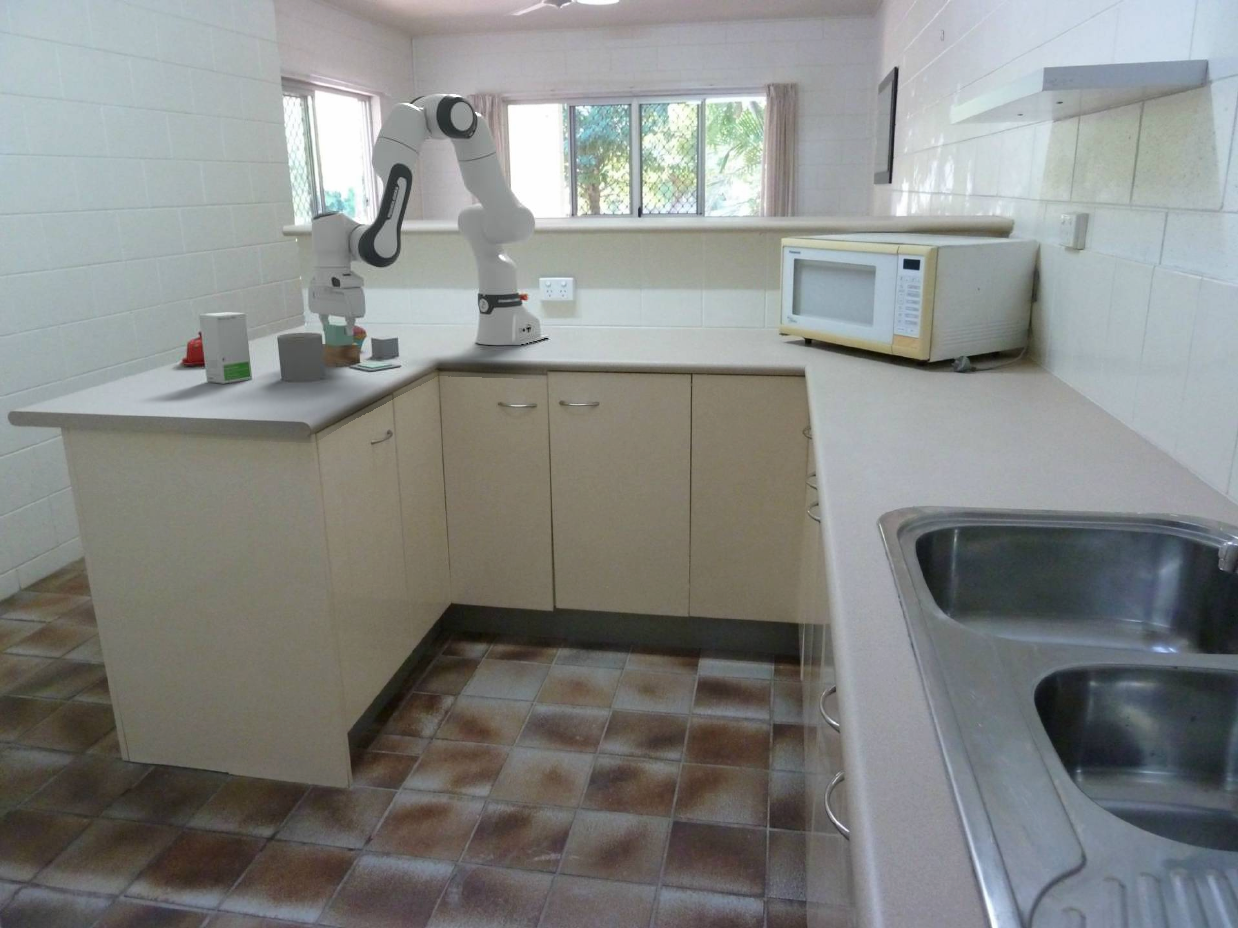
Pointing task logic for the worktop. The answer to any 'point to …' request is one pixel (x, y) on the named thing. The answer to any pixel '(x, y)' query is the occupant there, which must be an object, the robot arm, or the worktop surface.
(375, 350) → the grey block
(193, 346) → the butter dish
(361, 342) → the cupcake
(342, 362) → the walnut block
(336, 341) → the teal block
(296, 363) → the coffee mug
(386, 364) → the tile
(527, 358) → the worktop surface
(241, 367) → the skincare box
